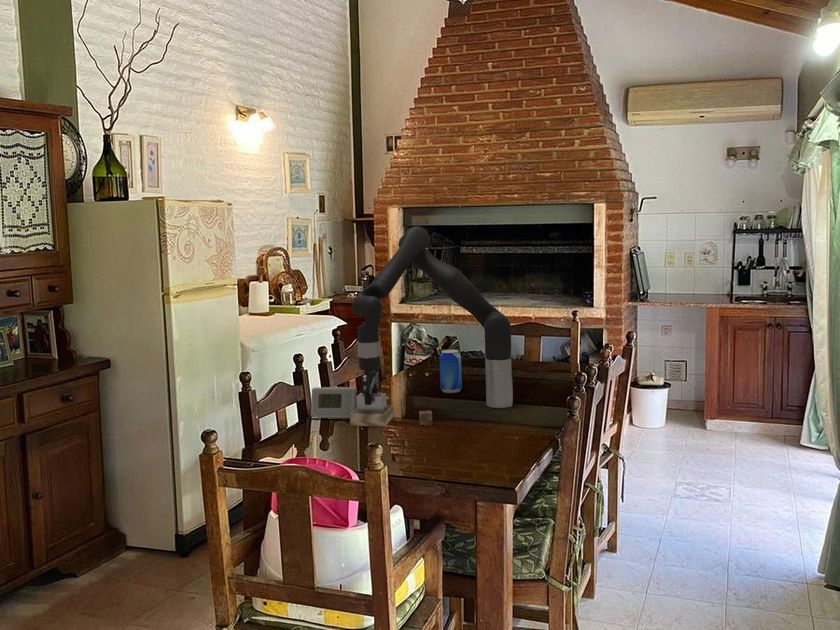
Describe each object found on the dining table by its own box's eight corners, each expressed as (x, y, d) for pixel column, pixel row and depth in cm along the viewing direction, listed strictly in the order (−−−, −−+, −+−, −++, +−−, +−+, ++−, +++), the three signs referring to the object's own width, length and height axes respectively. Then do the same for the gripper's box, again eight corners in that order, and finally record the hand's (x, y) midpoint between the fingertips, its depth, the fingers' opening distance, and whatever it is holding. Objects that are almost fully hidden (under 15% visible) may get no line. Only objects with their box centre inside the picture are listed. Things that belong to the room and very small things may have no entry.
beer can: (437, 392, 303) (436, 352, 301) (445, 388, 311) (443, 348, 309) (457, 394, 300) (456, 353, 298) (464, 389, 308) (463, 349, 306)
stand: (393, 416, 269) (393, 405, 269) (385, 426, 258) (384, 413, 257) (360, 416, 272) (359, 404, 271) (350, 425, 260) (349, 413, 260)
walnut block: (431, 422, 261) (431, 410, 261) (432, 425, 257) (431, 413, 257) (419, 422, 261) (419, 411, 261) (420, 425, 257) (419, 414, 257)
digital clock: (308, 419, 270) (306, 390, 269) (319, 413, 279) (318, 384, 277) (350, 422, 265) (349, 391, 263) (361, 415, 273) (359, 386, 272)
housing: (361, 407, 268) (360, 391, 267) (386, 407, 266) (386, 391, 265) (357, 410, 263) (356, 394, 262) (382, 411, 261) (381, 394, 260)
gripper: (364, 351, 270) (366, 396, 272) (352, 358, 256) (355, 406, 258) (385, 351, 268) (387, 396, 270) (374, 358, 254) (376, 407, 256)
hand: (371, 401), depth 264 cm, fingers open, 8 cm apart
